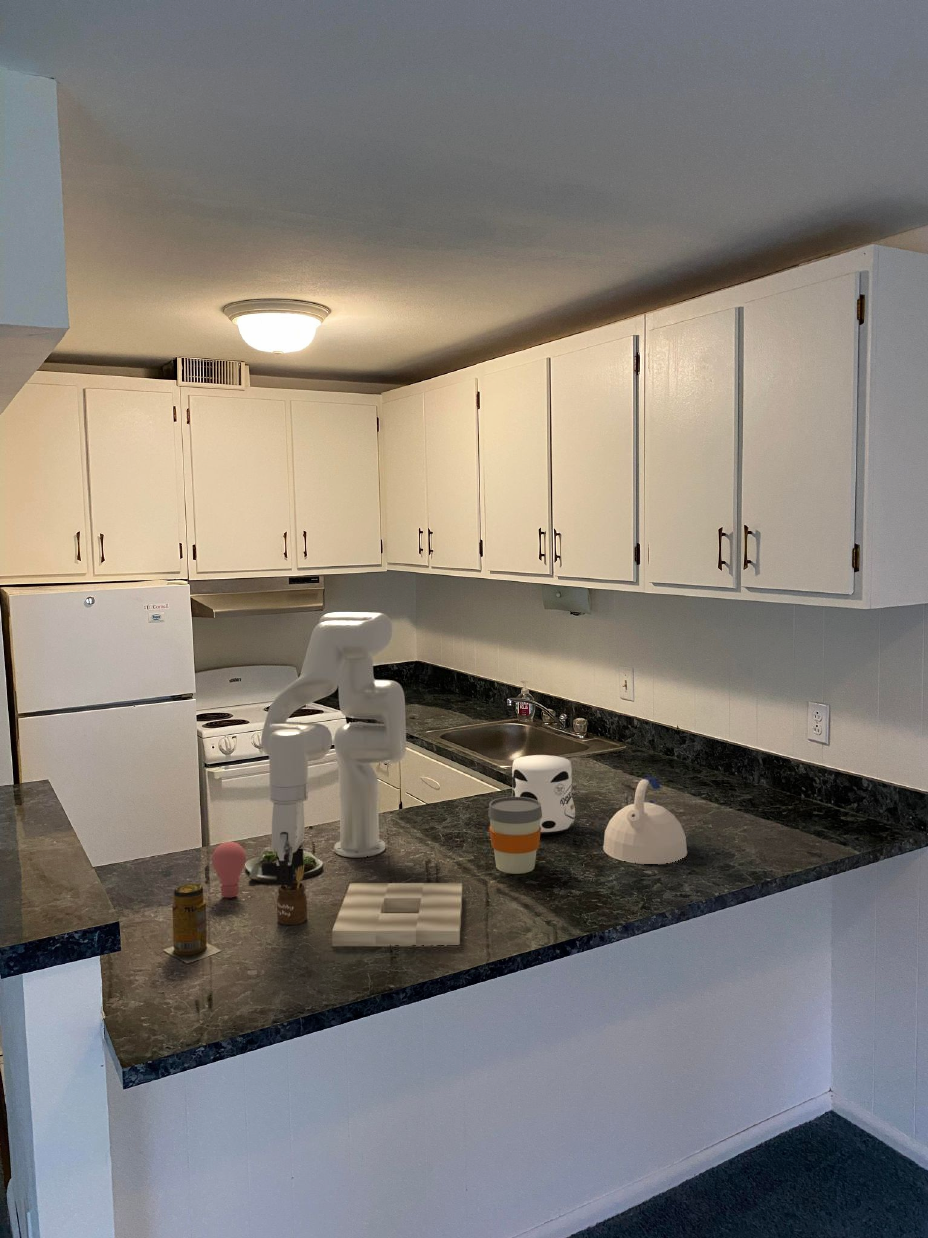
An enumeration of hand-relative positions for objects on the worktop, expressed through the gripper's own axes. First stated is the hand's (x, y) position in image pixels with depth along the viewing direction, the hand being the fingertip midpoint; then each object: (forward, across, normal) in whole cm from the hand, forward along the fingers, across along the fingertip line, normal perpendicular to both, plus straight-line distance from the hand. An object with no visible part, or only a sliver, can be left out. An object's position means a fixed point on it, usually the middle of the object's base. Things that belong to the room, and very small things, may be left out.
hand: (290, 876), depth 185 cm
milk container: (+8, -59, +54) cm, 80 cm away
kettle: (+8, -42, +78) cm, 89 cm away
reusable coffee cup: (+9, -31, +46) cm, 56 cm away
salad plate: (+9, -29, -8) cm, 31 cm away
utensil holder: (+10, -1, 0) cm, 10 cm away
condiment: (+10, +13, -16) cm, 23 cm away
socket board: (+9, -1, +22) cm, 24 cm away
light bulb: (+9, -13, -16) cm, 22 cm away
